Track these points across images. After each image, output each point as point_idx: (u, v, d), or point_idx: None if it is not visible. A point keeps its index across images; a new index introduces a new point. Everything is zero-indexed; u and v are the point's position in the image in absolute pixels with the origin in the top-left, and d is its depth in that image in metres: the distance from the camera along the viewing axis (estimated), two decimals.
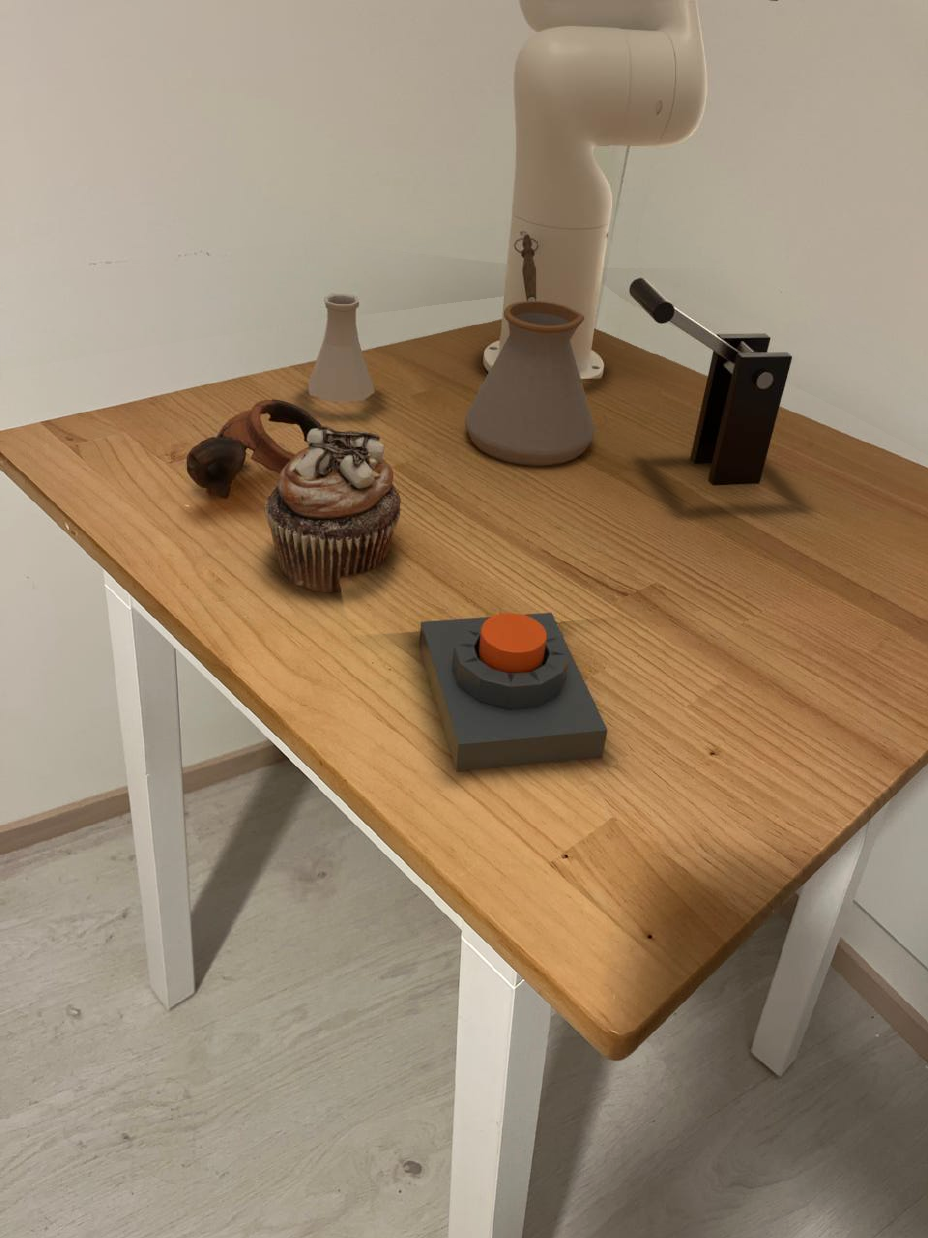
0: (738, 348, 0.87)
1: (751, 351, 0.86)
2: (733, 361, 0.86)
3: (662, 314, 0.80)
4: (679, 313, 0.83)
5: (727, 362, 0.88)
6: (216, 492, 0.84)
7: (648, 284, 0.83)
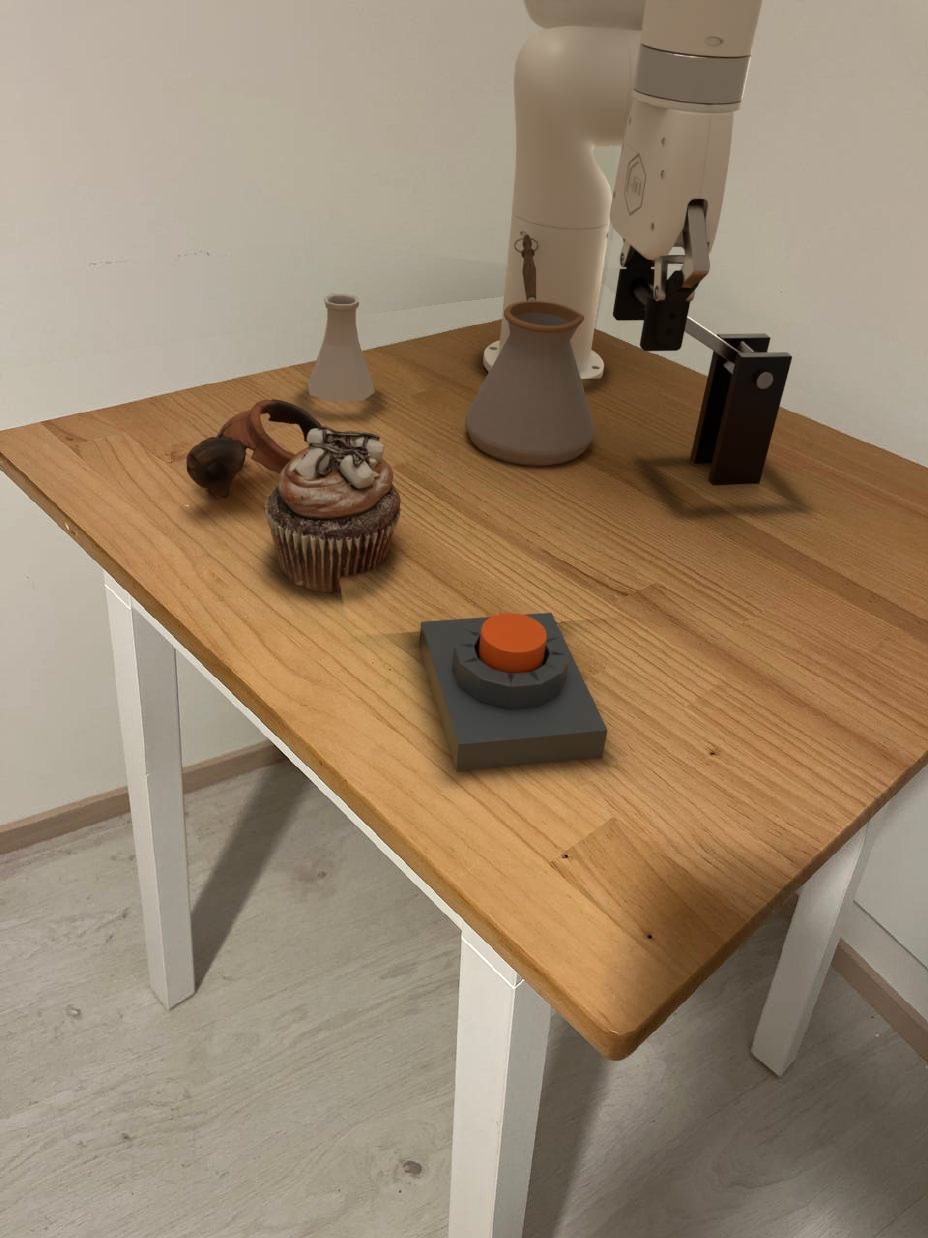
0: (738, 348, 0.87)
1: (751, 351, 0.86)
2: (733, 361, 0.86)
3: None
4: None
5: (727, 362, 0.88)
6: (216, 492, 0.84)
7: (648, 284, 0.83)
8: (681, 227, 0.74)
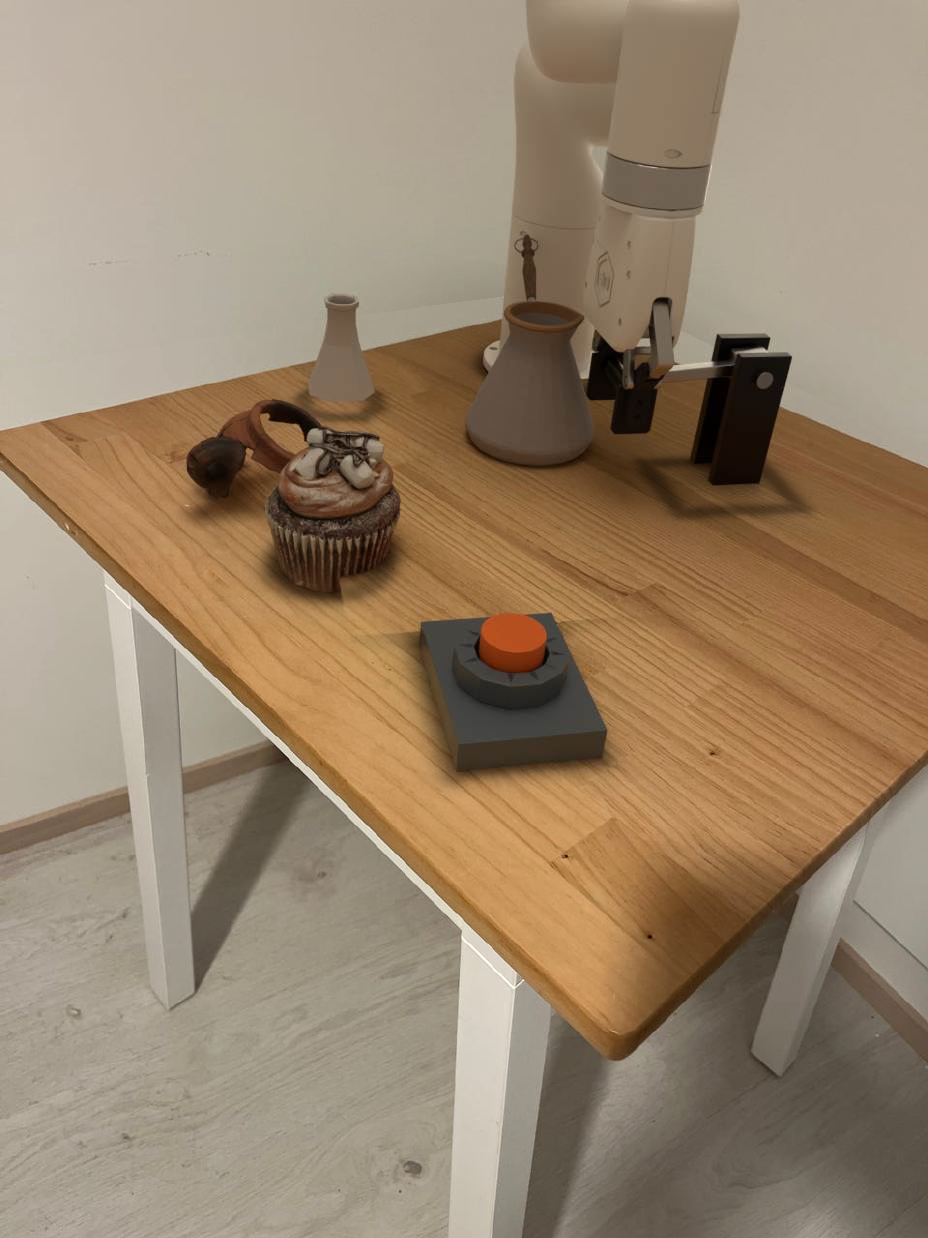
0: (730, 357, 0.88)
1: None
2: (729, 374, 0.87)
3: None
4: None
5: None
6: (216, 492, 0.84)
7: (612, 365, 0.86)
8: (647, 323, 0.78)
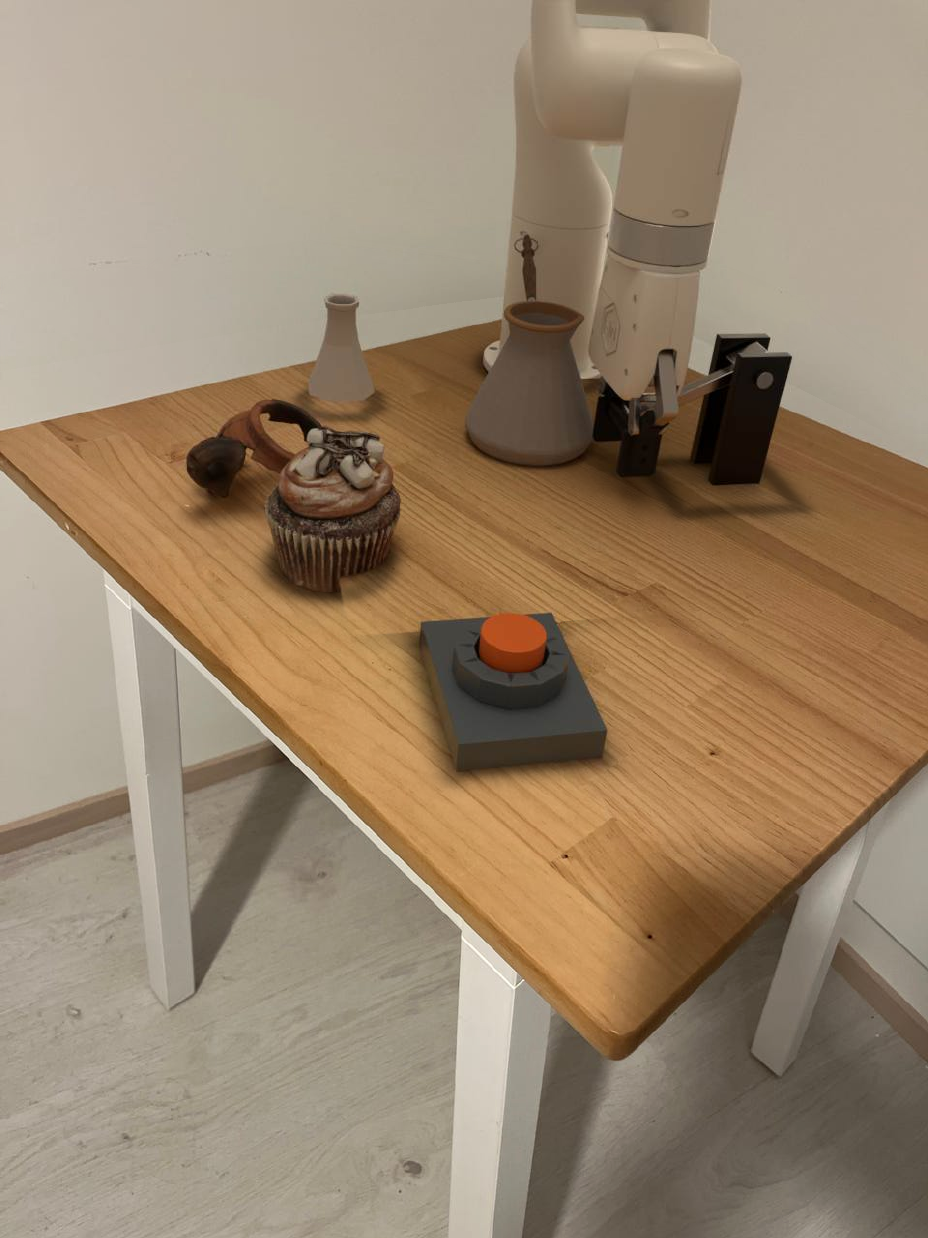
0: (728, 363, 0.88)
1: None
2: None
3: None
4: None
5: None
6: (216, 492, 0.84)
7: (614, 410, 0.89)
8: (652, 374, 0.80)
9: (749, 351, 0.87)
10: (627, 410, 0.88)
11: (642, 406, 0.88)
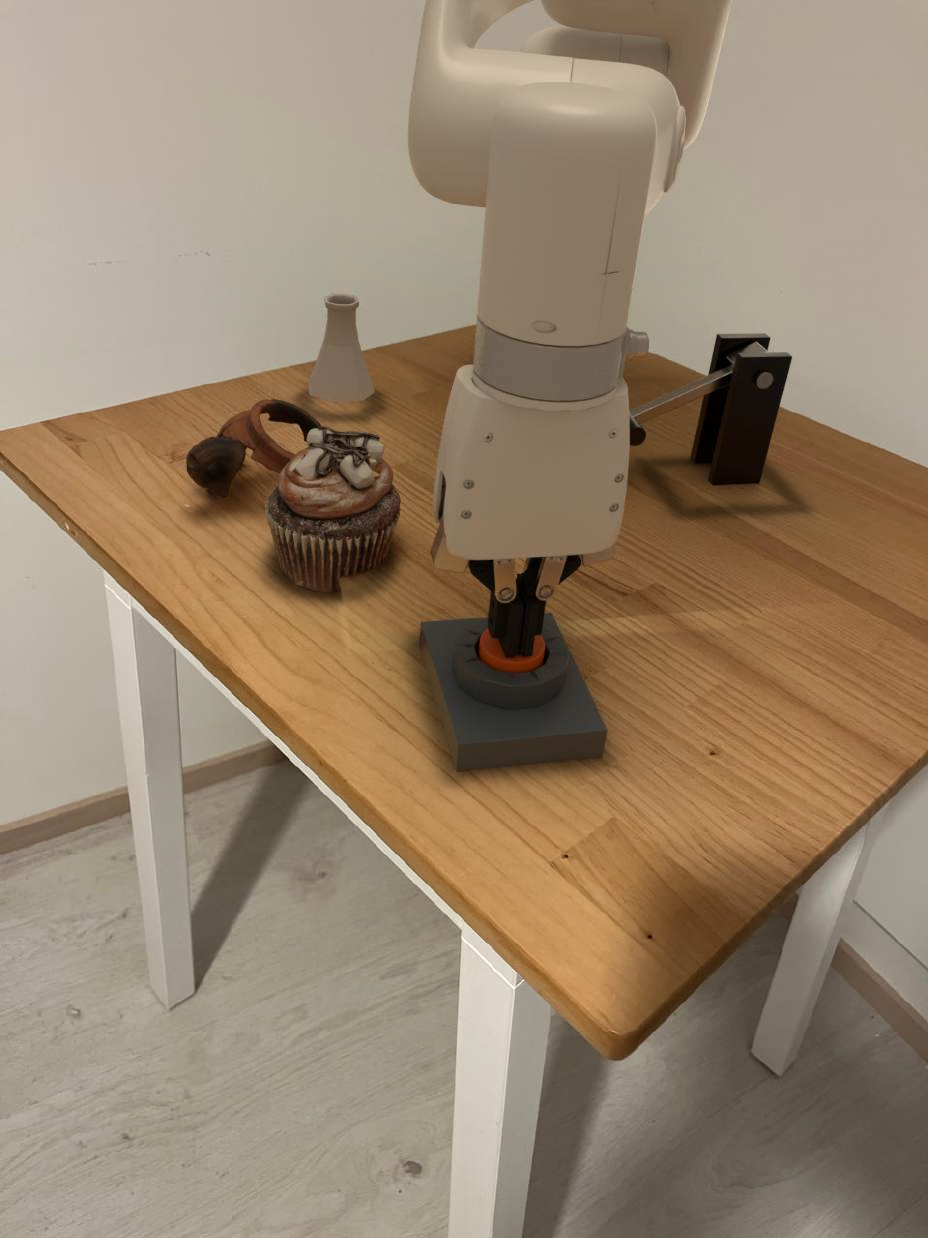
0: (728, 363, 0.88)
1: None
2: None
3: (636, 438, 0.86)
4: (653, 408, 0.87)
5: None
6: (216, 492, 0.84)
7: None
8: (436, 496, 0.59)
9: (749, 351, 0.87)
10: None
11: (642, 406, 0.88)
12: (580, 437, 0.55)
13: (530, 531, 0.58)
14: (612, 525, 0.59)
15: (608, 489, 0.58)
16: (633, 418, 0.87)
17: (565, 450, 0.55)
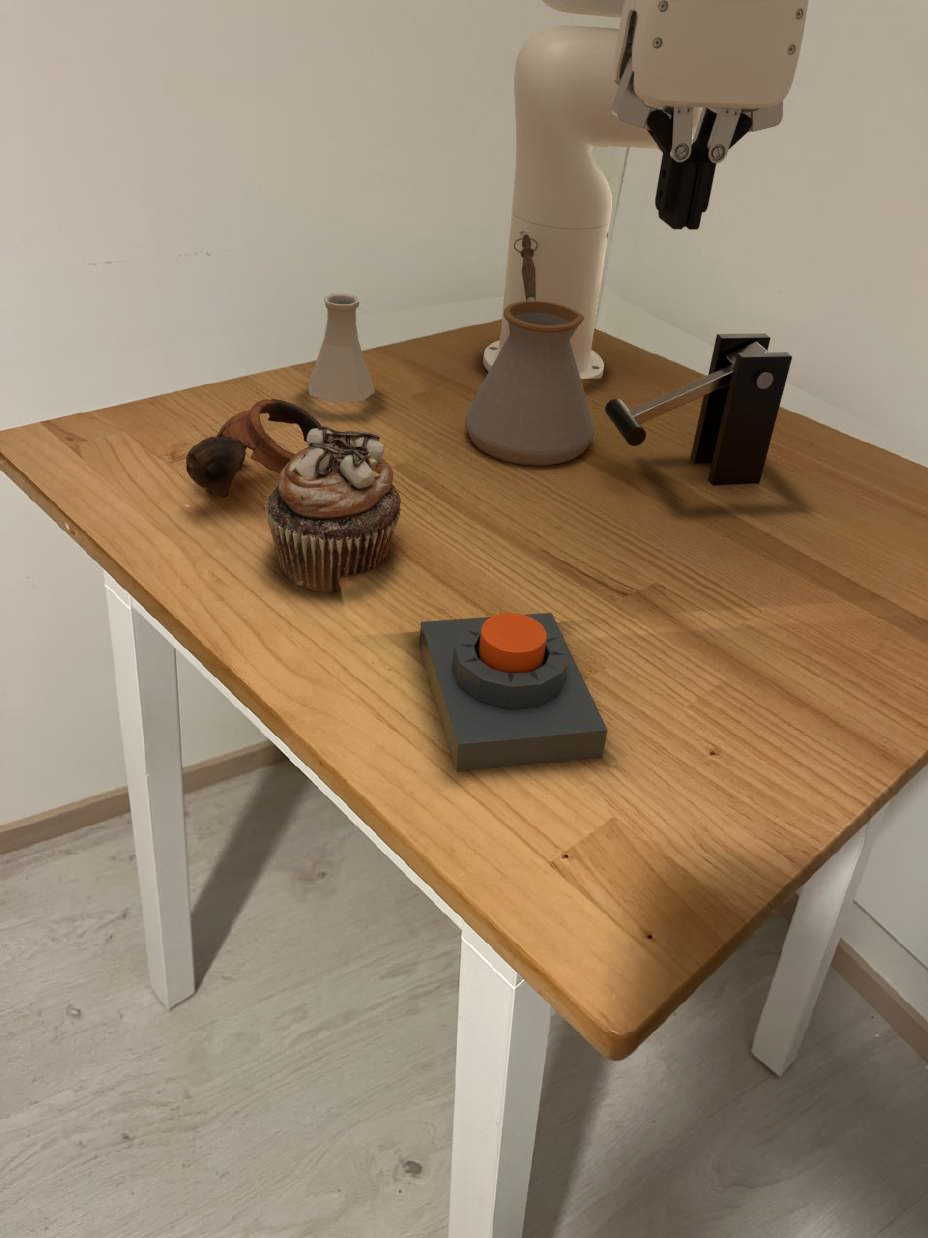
0: (728, 363, 0.88)
1: None
2: None
3: (636, 438, 0.86)
4: (653, 408, 0.87)
5: None
6: (216, 492, 0.84)
7: (614, 410, 0.89)
8: (621, 44, 0.63)
9: (749, 351, 0.87)
10: (627, 410, 0.88)
11: (642, 406, 0.88)
12: None
13: (714, 68, 0.62)
14: (788, 71, 0.63)
15: (788, 26, 0.61)
16: (633, 418, 0.87)
17: None
